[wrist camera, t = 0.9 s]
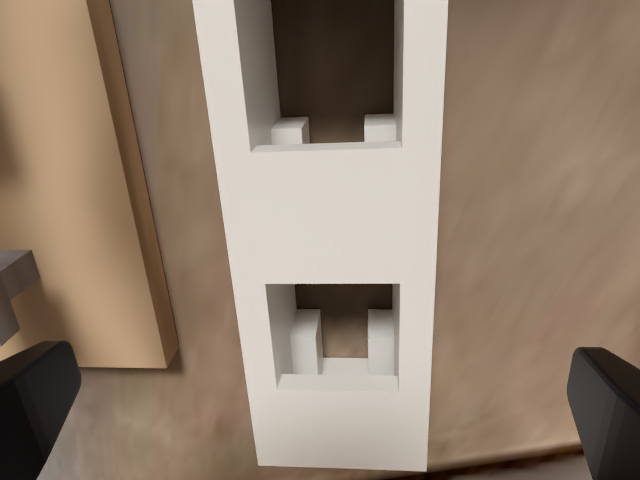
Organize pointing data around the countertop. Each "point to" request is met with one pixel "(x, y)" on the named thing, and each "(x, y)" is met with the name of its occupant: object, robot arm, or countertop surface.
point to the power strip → (329, 241)
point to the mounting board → (75, 194)
